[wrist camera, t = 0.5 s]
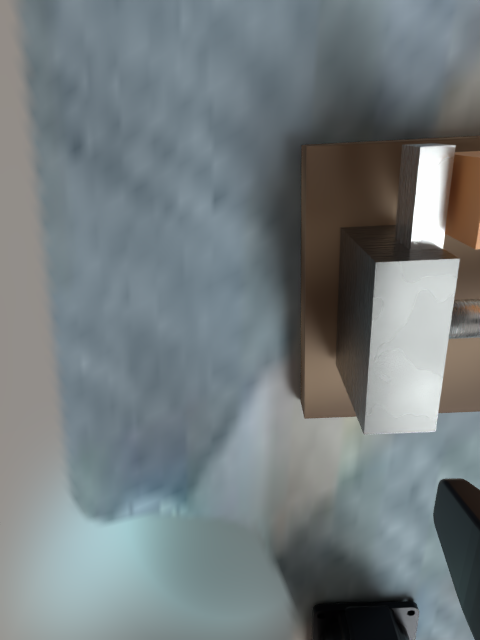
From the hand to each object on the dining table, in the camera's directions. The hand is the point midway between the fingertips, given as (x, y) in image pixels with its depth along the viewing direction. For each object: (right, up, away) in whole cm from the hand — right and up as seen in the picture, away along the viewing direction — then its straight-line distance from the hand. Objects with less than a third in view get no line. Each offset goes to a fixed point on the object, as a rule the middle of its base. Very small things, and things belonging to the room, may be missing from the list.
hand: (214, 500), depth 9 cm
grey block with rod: (+9, +6, +10) cm, 14 cm away
